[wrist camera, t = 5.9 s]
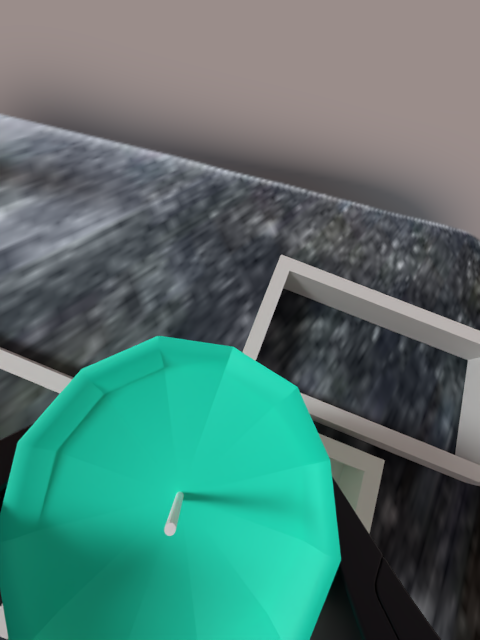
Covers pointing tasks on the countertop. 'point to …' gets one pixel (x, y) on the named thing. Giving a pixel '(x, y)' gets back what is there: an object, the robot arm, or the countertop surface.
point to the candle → (169, 504)
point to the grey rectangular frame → (473, 345)
